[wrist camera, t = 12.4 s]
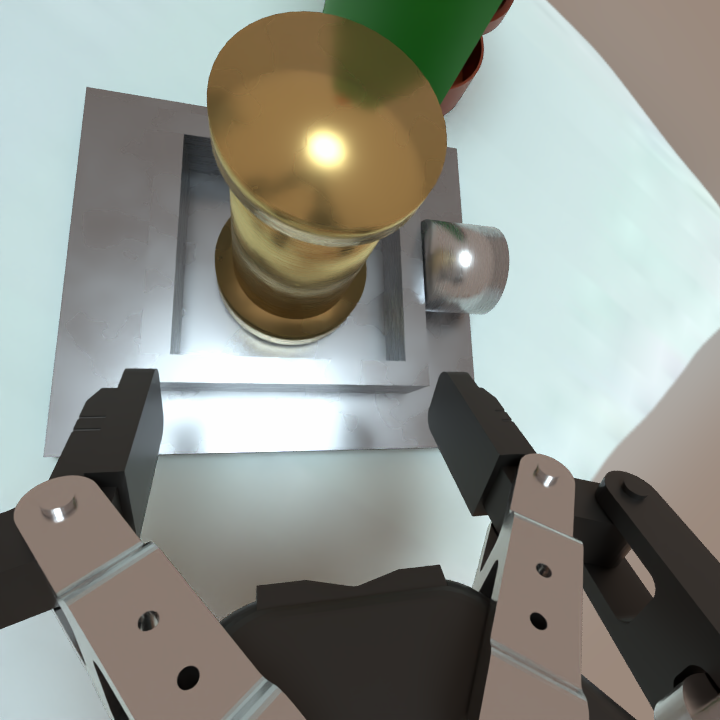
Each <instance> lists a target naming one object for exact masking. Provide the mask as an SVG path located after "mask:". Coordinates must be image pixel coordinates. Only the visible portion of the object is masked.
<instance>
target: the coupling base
mask: <svg viewBox="0 0 720 720" xmlns="http://www.w3.org/2000/svg"><path fill="white" fill-rule="evenodd" d="M230 217H231V210H230V188H229V186H228V185H227V183H226V182H225V180H224V179H223V177H222V175H221V173H220V170H219V168H218V166H217V164H216V161H215V158H214V155H213V151H212V145H211V140H210V131H209V120H208V110H207V107H203V106H197V105H191V104H185V103H179V102H173V101H167V100H161V99H155V98H149V97H143V96H137V95H131V94H125V93H119V92H113V91H107V90H101V89H95V88H89V87H87V88H86V96H85V105H84V114H83V122H82V131H81V139H80V148H79V156H78V165H77V174H76V182H75V191H74V199H73V208H72V216H71V225H70V233H69V242H68V251H67V259H66V268H65V276H64V285H63V293H62V302H61V311H60V319H59V328H58V336H57V345H56V353H55V362H54V371H53V379H52V388H51V396H50V405H49V413H48V422H47V431H46V439H45V448H44V456H43V457H60V455H61V453H62V451H63V449H64V447H65V445H66V443H67V440H68V438H69V436H70V434H71V432H73V428H74V426H75V424H76V421H77V419H79V415H80V413H81V411H82V409H83V407H84V405H85V402H86V401H87V400H88V399H89V398H90V397H91V396H93V395H94V394H95V393H96V392H97V391H99V390H100V389H101V388H117V387H118V384H119V382H120V379H121V377H122V374H123V372H124V370H125V369H126V368H145V369H158V372H159V378H160V388H161V397H162V406H163V416H164V426H163V436H162V441H161V445H160V450H159V454H188V453H230V452H271V451H312V450H353V449H394V448H435V447H438V446H437V444H436V442H435V440H434V438H433V436H432V434H431V432H430V429H429V425H428V411H429V407H430V404H431V400H432V397H433V394H434V391H435V387H436V384H437V381H438V378H439V375H440V374H441V373H442V372H467V373H469V375H470V376H471V377H472V379H473V380H474V370H473V357H472V344H471V331H470V317H469V314H485V313H488V312H489V311H491V310H492V309H493V308H494V307H495V305H496V304H497V303H498V301H499V299H500V297H501V296H502V293H503V291H504V288H505V285H506V281H507V277H508V271H509V250H508V245H507V242H506V239H505V237H504V235H503V233H502V232H501V231H500V230H499V229H497V228H495V227H488V226H480V225H472V224H463V223H462V213H461V199H460V186H459V173H458V160H457V149H455V148H449V147H447V149H446V156H445V162H444V165H443V168H442V172H441V174H440V176H439V178H438V180H437V182H436V184H435V186H434V187H433V189H432V190H431V191H430V193H429V194H428V196H427V197H426V199H425V200H424V201H423V203H422V204H421V205H420V207H419V208H418V210H417V211H416V212H415V214H414V215H413V216H412V217H411V218H410V219H409V220H408V221H407V222H406V223H405V224H404V225H403V226H402V227H400V228H399V229H398V230H397V231H395V232H394V233H392V234H390V235H388V236H386V237H385V238H382V239H380V240H379V242H378V243H377V245H376V246H375V248H374V249H373V251H372V253H371V254H370V256H369V257H368V259H367V260H366V267H367V274H366V283H365V287H364V290H363V293H362V296H361V298H360V300H359V302H358V304H357V305H356V307H355V308H354V310H353V311H352V312H351V313H350V315H349V316H348V317H347V319H346V320H345V321H344V322H343V323H342V324H341V325H340V326H339V327H338V328H337V329H336V330H335V331H334V332H332V333H331V334H329V335H327V336H326V337H324V338H322V339H319V340H317V341H314V342H311V343H306V344H300V345H285V344H278V343H274V342H270V341H267V340H264V339H261V338H259V337H257V336H256V335H254V334H252V333H250V332H249V331H247V330H246V329H245V328H243V327H242V326H241V325H240V324H239V323H238V322H237V321H236V320H235V319H234V318H233V317H232V315H231V314H230V313H229V311H228V310H227V308H226V307H225V305H224V303H223V301H222V298H221V296H220V292H219V289H218V284H217V277H216V270H215V249H216V244H217V240H218V237H219V235H220V232H221V230H222V228H223V227H224V225H225V223H226V222H227V220H228V219H229V218H230Z"/></svg>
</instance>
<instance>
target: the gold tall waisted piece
mask: <svg viewBox="0 0 720 720" xmlns="http://www.w3.org/2000/svg"><path fill="white" fill-rule="evenodd" d="M207 110H208V120H209V131H210V140H211V145H212V151H213V155H214V158H215V161H216V164H217V166H218V168H219V170H220V173H221V175H222V177H223V179H224V180H225V182H226V183H227V185H228V186H229V188H230V210H231V217H230V218H229V219H228V220H227V222H226V223H225V225H224V227H223V228H222V230H221V232H220V235H219V237H218V240H217V244H216V249H215V270H216V277H217V284H218V289H219V292H220V296H221V298H222V301H223V303H224V305H225V307H226V308H227V310H228V311H229V313H230V314H231V315H232V317H233V318H234V319H235V320H236V321H237V322H238V323H239V324H240V325H241V326H242V327H243V328H245V329H246V330H247V331H249V332H250V333H252V334H254V335H256V336H257V337H259V338H261V339H264V340H267V341H270V342H274V343H278V344H285V345H300V344H306V343H311V342H314V341H317V340H319V339H322V338H324V337H326V336H327V335H329V334H331V333H332V332H334V331H335V330H336V329H337V328H338V327H339V326H340V325H341V324H342V323H343V322H344V321H345V320H346V319H347V317H348V316H349V315H350V313H351V312H352V311H353V310H354V308H355V307H356V305H357V304H358V302H359V300H360V298H361V296H362V293H363V290H364V287H365V283H366V274H367V267H366V260H367V259H368V257H369V256H370V254H371V253H372V251H373V249H374V248H375V246H376V245H377V243H378V242H379V240H380V239H382V238H385V237H386V236H388V235H390V234H392V233H394V232H395V231H397V230H398V229H399V228H400V227H402V226H403V225H404V224H405V223H406V222H407V221H408V220H409V219H410V218H411V217H412V216H413V215H414V214H415V212H416V211H417V210H418V208H419V207H420V205H421V204H422V203H423V201H424V200H425V199H426V197H427V196H428V194H429V193H430V191H431V190H432V189H433V187H434V186H435V184H436V182H437V180H438V178H439V176H440V174H441V172H442V168H443V165H444V162H445V156H446V149H447V134H446V126H445V120H444V117H443V113H442V109H441V107H440V104H439V102H438V99H437V97H436V95H435V93H434V91H433V89H432V87H431V85H430V83H429V82H428V80H427V79H426V78H425V76H424V75H423V73H422V72H421V70H420V69H419V68H418V67H417V66H416V65H415V63H414V62H413V61H412V60H411V59H410V58H409V57H408V56H407V55H406V54H405V53H404V52H403V51H402V50H401V49H399V48H398V47H397V46H396V45H394V44H393V43H392V42H391V41H389V40H388V39H386V38H385V37H383V36H382V35H380V34H379V33H377V32H375V31H373V30H371V29H369V28H368V27H366V26H364V25H361V24H359V23H356V22H354V21H351V20H349V19H346V18H342V17H339V16H335V15H331V14H325V13H320V12H306V11H301V12H287V13H281V14H275V15H272V16H269V17H265V18H262V19H260V20H258V21H256V22H253V23H251V24H249V25H248V26H246V27H245V28H243V29H242V30H240V31H239V32H237V33H236V34H235V35H234V36H233V37H232V38H231V39H230V40H229V41H228V42H227V43H226V44H225V46H224V47H223V48H222V50H221V51H220V52H219V54H218V56H217V58H216V60H215V62H214V64H213V67H212V70H211V73H210V76H209V81H208V88H207Z"/></svg>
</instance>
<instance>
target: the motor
mask: <svg viewBox="0 0 720 720" xmlns="http://www.w3.org/2000/svg"><path fill="white" fill-rule="evenodd" d="M513 1H514V0H325V5H324V10H323V13H325V14H331V15H335V16H339V17H342V18H346V19H349V20H351V21H354V22H356V23H359V24H361V25H364V26H366V27H368V28H369V29H371V30H373V31H375V32H377V33H379V34H380V35H382V36H383V37H385V38H386V39H388V40H389V41H391V42H392V43H393V44H394V45H396V46H397V47H398V48H399V49H401V50H402V51H403V52H404V53H405V54H406V55H407V56H408V57H409V58H410V59H411V60H412V61H413V62H414V63H415V65H416V66H417V67H418V68H419V69H420V70H421V72H422V73H423V75H424V76H425V78H426V79H427V80H428V82H429V83H430V85H431V87H432V89H433V91H434V93H435V95H436V97H437V99H438V102H439V104H440V107H441V109H442V113H443V115H445V114H447V113H448V112H449V111H450V110H452V109H453V108H454V106H455V105H456V104H457V102H458V101H459V99H460V98H461V96H462V95H463V93H464V92H465V90H466V88H467V87H468V85H469V84H470V82H471V81H472V79H473V78H474V76H475V74H476V73H477V71H478V70H479V68H480V65H481V63H482V59H483V53H484V44H483V37H482V35H484V34H487V33H489V32H491V31H492V30H494V29H495V28H496V27H497V26H498V25H499V24H500V23H501V21H502V20H503V18H504V17H505V15H506V13H507V12H508V10H509V9H510V7H511V5H512V3H513Z"/></svg>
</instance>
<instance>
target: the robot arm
mask: <svg viewBox="0 0 720 720" xmlns="http://www.w3.org/2000/svg"><path fill="white" fill-rule="evenodd" d="M428 425H429V429H430V432H431V434H432V436H433V438H434V440H435V442H436V444H437V446H438V448H439V450H440V452H441V454H442V456H443V458H444V460H445V462H446V464H447V466H448V468H449V470H450V472H451V474H452V476H453V478H454V480H455V482H456V484H457V486H458V488H459V490H460V492H461V495H462V497H463V499H464V501H465V503H466V505H467V507H468V509H469V511H470V513H471V515H472V516H482V515H488V516H489V518H490V519H491V522H490V524H489V526H488V529H487V532H486V536H485V540H484V544H483V548H482V552H481V556H480V560H479V564H478V568H477V572H476V575H475V579H474V583H473V586H472V588H471V587H469V586H466V585H464V584H461V583H458V582H454V581H451V580H446V579H445V577H444V575H443V572H442V569H441V567H440V565H433V566H424V567H415V568H407V569H398V570H396V571H393V572H391V573H389V574H386V575H384V576H381V577H379V578H377V579H374V580H372V581H369V582H367V583H364V584H362V585H359V586H354V587H353V586H344V585H337V584H330V583H322V582H315V581H308V580H303V581H294V582H285V583H277V584H268V585H259V586H257V590H256V601H255V602H253V603H250V604H248V605H246V606H244V607H242V608H240V609H238V610H236V611H234V612H233V613H231V614H230V615H229V616H227V617H226V618H224V619H223V620H222V621H221V622H218V620H217V619H216V618H215V617H214V615H213V614H212V613H211V612H210V610H209V609H208V608H207V607H206V606H205V604H204V603H203V602H202V601H201V599H200V598H199V597H198V596H197V594H196V593H195V592H194V591H193V589H192V588H191V587H190V586H189V584H188V583H187V582H186V581H185V579H184V578H183V577H182V576H181V574H180V573H179V572H178V571H177V569H176V568H175V567H174V566H173V564H172V563H171V562H170V561H169V559H168V558H167V557H166V556H165V554H164V553H163V552H162V551H161V550H160V548H159V547H158V546H157V545H156V544H154V543H153V542H148V543H146V544H144V543H143V542H142V541H141V540H140V539H139V538H140V534H141V529H142V525H143V520H144V516H145V511H146V507H147V503H148V498H149V494H150V489H151V485H152V480H153V476H154V472H155V467H156V463H157V458H158V454H159V450H160V445H161V441H162V436H163V426H164V416H163V406H162V397H161V388H160V378H159V372H158V369H145V368H126V369H125V370H124V372H123V374H122V377H121V379H120V382H119V384H118V387H117V388H101V389H100V390H99V391H97V392H96V393H95V394H94V395H93V396H91V397H90V398H89V399H88V400H87V401H86V402H85V405H84V407H83V409H82V411H81V413H80V415H79V419H77V421H76V424H75V426H74V428H73V432H71V434H70V436H69V438H68V440H67V443H66V445H65V447H64V449H63V451H62V453H61V455H60V457H59V459H58V462H57V464H56V466H55V468H54V470H53V472H52V474H51V476H50V478H49V480H48V481H46V482H43V483H41V484H39V485H37V486H36V487H34V488H33V489H31V490H30V491H29V492H28V493H26V494H25V495H24V496H23V497H22V498H21V500H20V501H19V502H18V504H17V506H16V508H14V509H11V510H9V511H6V512H3V513H0V629H2V628H5V627H7V626H10V625H12V624H15V623H18V622H20V621H23V620H25V619H28V618H30V617H33V616H35V615H38V614H41V613H43V612H46V611H48V610H52V611H53V613H54V615H55V617H56V618H57V620H58V622H59V624H60V626H61V627H62V629H63V631H64V633H65V634H66V636H67V638H68V640H69V642H70V643H71V645H72V647H73V649H74V650H75V652H76V654H77V656H78V658H79V659H80V661H81V663H82V665H83V667H84V668H85V670H86V672H87V674H88V676H89V678H90V679H91V681H92V683H93V685H94V688H95V690H96V692H97V694H98V696H99V698H100V700H101V702H102V704H103V706H104V708H105V710H106V711H107V713H108V715H109V717H110V719H111V720H636V719H635V718H634V717H633V716H631V715H630V714H629V713H628V712H626V711H625V710H624V709H623V708H622V707H620V706H619V705H618V704H617V703H615V702H614V701H613V700H612V699H611V698H610V697H608V696H607V695H606V694H605V693H604V692H602V691H601V690H600V689H599V688H597V687H596V686H595V685H594V684H593V683H591V682H590V681H589V680H587V678H585V677H584V676H583V675H582V674H581V657H582V602H583V601H582V600H583V589H584V591H585V592H586V594H587V596H588V598H589V599H590V601H591V603H592V604H593V606H594V608H595V610H596V611H597V613H598V615H599V616H600V618H601V620H602V622H603V623H604V625H605V627H606V629H607V630H608V632H609V634H610V636H611V637H612V639H613V641H614V642H615V644H616V646H617V648H618V649H619V651H620V653H621V654H622V656H623V658H624V660H625V662H626V663H627V665H628V667H629V668H630V670H631V672H632V674H633V675H634V677H635V679H636V681H637V682H638V684H639V686H640V687H641V689H642V691H643V693H644V694H645V696H646V698H647V699H648V701H649V702H650V704H651V706H652V708H653V710H654V720H720V563H719V562H718V561H717V559H716V558H715V557H714V556H713V555H712V554H711V553H710V551H709V550H708V549H707V548H706V547H705V546H704V545H703V544H702V542H701V541H700V540H699V539H698V538H697V537H696V536H695V534H694V533H693V532H692V531H691V530H690V529H689V528H688V527H687V526H686V524H685V523H684V522H683V521H682V520H681V519H680V517H679V516H677V514H676V513H675V512H674V511H673V510H672V508H671V507H670V506H669V505H668V504H667V503H666V502H665V500H664V499H662V497H661V496H660V495H659V494H658V493H657V491H655V489H654V488H653V487H652V486H650V485H649V484H648V483H646V482H645V481H644V480H642V479H640V478H639V477H637V476H635V475H632V474H630V473H627V472H623V471H611V472H609V473H607V474H606V476H605V477H604V478H603V480H602V482H601V483H595V482H591V481H586V480H581V479H577V478H573V476H572V474H571V473H570V471H569V470H568V469H567V468H566V467H565V466H564V465H563V464H561V463H560V462H558V461H557V460H555V459H553V458H551V457H549V456H546V455H542V454H537V453H536V452H535V451H534V449H533V448H532V447H531V445H530V444H529V442H528V441H527V440H526V438H525V437H524V436H523V434H522V433H521V432H520V430H519V429H518V427H517V426H516V425H515V423H514V422H512V421H511V418H510V417H509V415H508V414H507V412H504V408H503V407H502V406H501V404H500V403H499V402H498V400H497V399H496V398H495V397H494V396H493V395H491V394H490V393H489V392H487V391H486V390H485V389H483V388H479V387H478V386H477V384H476V383H475V382H474V380H473V379H472V377H471V376H470V375H469V373H467V372H442V373H441V374H440V375H439V378H438V381H437V384H436V387H435V391H434V394H433V397H432V400H431V404H430V407H429V411H428ZM631 549H633V551H634V552H635V553H636V555H637V556H638V558H639V559H640V560H641V562H642V563H643V564H644V566H645V567H646V569H647V570H648V571H649V573H650V574H651V576H652V578H653V580H654V583H655V588H656V591H655V596H654V598H653V597H652V596H651V594H650V593H649V591H648V590H647V589H646V587H645V586H644V584H643V583H642V582H641V580H640V579H639V577H638V576H637V575H636V573H635V571H634V570H633V569H632V567H631V566H630V564H629V563H628V562H627V560H626V559H625V556H626V555H627V554H628V552H629V551H630V550H631Z"/></svg>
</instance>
